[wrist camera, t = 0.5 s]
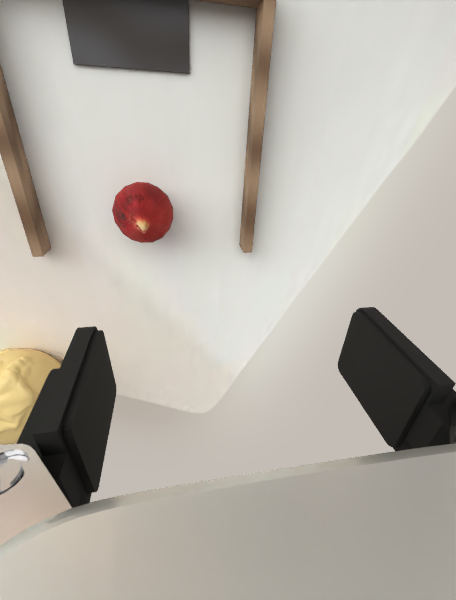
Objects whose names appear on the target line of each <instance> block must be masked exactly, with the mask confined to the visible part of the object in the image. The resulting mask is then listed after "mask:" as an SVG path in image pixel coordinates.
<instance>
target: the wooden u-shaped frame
mask: <svg viewBox="0 0 456 600" xmlns="http://www.w3.org/2000/svg"><path fill="white" fill-rule="evenodd" d="M195 1H204V2H212V3H220V4H229V5H237V6H245V7H254V8H257V10H256V24H255V38H254V51H253V65H252V79H251V93H250V107H249V120H248V134H247V148H246V162H245V176H244V189H243V203H242V217H241V231H240V247H241V249H242V250H243V252H244V253H246V252H252V245H253V234H254V224H255V213H256V203H257V193H258V182H259V172H260V162H261V151H262V141H263V130H264V120H265V110H266V99H267V89H268V79H269V68H270V58H271V47H272V37H273V27H274V16H275V6H276V0H195ZM63 6H64V11H65V17H66V23H67V29H68V34H69V40H70V46H71V52H72V57H73V63H74V64H80V65H92V66H105V67H117V68H130V69H142V70H155V71H167V72H180V73H189V21H188V0H63ZM0 153H1V157H2V160H3V163H4V166H5V169H6V172H7V176H8V179H9V182H10V185H11V188H12V192H13V195H14V198H15V201H16V204H17V207H18V211H19V214H20V217H21V220H22V223H23V227H24V230H25V233H26V236H27V239H28V243H29V246H30V249H31V252H32V255H33V257H39V256H44V255H45V254H46V253H47V251H48V250H49V249H50V248H51V246H50V243H49V239H48V236H47V232H46V228H45V225H44V221H43V217H42V214H41V210H40V207H39V203H38V199H37V196H36V192H35V188H34V185H33V181H32V178H31V174H30V170H29V167H28V163H27V159H26V156H25V152H24V149H23V145H22V141H21V138H20V134H19V130H18V127H17V123H16V119H15V116H14V112H13V109H12V105H11V101H10V98H9V94H8V90H7V87H6V83H5V80H4V76H3V72H2V69H1V65H0Z"/></svg>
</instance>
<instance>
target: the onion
mask: <svg viewBox="0 0 456 600" xmlns="http://www.w3.org/2000/svg"><path fill="white" fill-rule="evenodd" d="M112 211H113V215H114V220H115V223H116V224H117V226H118V227H119V228H120V230H121V231H122V233H123V234H124V235H126V236H127V237H129V238H130V239H131V240H135V241H138V242H154V241H156V240H158V239H160V238H162V237H163V236H164V235H165V234H166V233H167V231H168V230H169V229H170V226H171V223H172V220H173V207H172V205H171V203H170V200H169V198H168V196H167V195H166V194H165V193H164V192H163V191H162V190H161V189H159V188H158V187H156V186H154V185H152V184H150V183H143V182H136V183H133V184H131V185H128V186H125V187H124V188H123V189H122V190H121V191H120V192H119V193H118V194H117V195H116V197H115V201H114V205H113V210H112Z"/></svg>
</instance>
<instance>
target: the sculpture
mask: <svg viewBox="0 0 456 600" xmlns="http://www.w3.org/2000/svg"><path fill="white" fill-rule="evenodd" d="M60 367H61V364H60V363H59V362H58V361H57V360H55V359H54V358H53V357H51V356H50V355H48V354H46V353H43V352H41V351H37V350H33V349H5V350H2V351H0V444H4V445H5V444H16V443H17V441H18V439H19V437H20V435H21V432H22V430H23V428H24V426H25V424H26V422H27V419H28V417H29V415H30V413H31V411H32V409H33V406H34V404H35V402H36V400H37V398H38V396H39V393H40V391H41V389H42V387H43V385H44V383H45V380H46V378H47V376H48V374H49V373H50V371H51V370H52V369H57V368H60Z"/></svg>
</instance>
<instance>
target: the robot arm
mask: <svg viewBox="0 0 456 600" xmlns="http://www.w3.org/2000/svg"><path fill="white" fill-rule="evenodd" d="M338 369H339V371H340V373H341V375H342V376H343V378H344V379H345V381H346V382H347V384H348V385H349V387H350V388H351V390H352V391H353V393H354V394H355V396H356V397H357V399H358V400H359V402H360V403H361V405H362V407H363V408H364V410H365V411H366V412H367V414H368V415H369V417H370V418H371V420H372V422H373V423H374V425H375V426H376V428H377V429H378V431H379V432H380V434H381V435H382V437H383V438H384V440H385V441H386V443H387V444H388V445H389V446H391V447H393V448H394V450H395V452H389V453H382V454H375V455H368V456H361V457H355V458H348V459H342V460H335V461H329V462H322V463H316V464H309V465H302V466H296V467H290V468H283V469H277V470H270V471H264V472H258V473H251V474H245V475H239V476H232V477H226V478H220V479H214V480H208V481H202V482H195V483H189V484H183V485H176V486H171V487H165V488H160V489H154V490H148V491H143V492H137V493H132V494H126V495H121V496H117V497H113V498H108V499H103V500H99V501H95V502H91V503H90V497H91V493H92V492H97V490H98V487H99V482H100V477H101V472H102V466H103V461H104V455H105V451H106V445H107V440H108V435H109V429H110V423H111V419H112V413H113V408H114V403H115V397H116V383H115V379H114V375H113V371H112V366H111V362H110V358H109V354H108V349H107V345H106V341H105V337H104V333H103V331H102V330H100V331H98V330H97V328H96V327H83V328H77V330H76V332H75V334H74V336H73V339H72V341H71V343H70V346H69V348H68V350H67V353H66V355H65V357H64V360H63V362H62V364H61V367H60V368H57V369H52V370H51V371H50V373H49V374H48V376H47V378H46V380H45V383H44V385H43V387H42V389H41V391H40V393H39V396H38V398H37V400H36V402H35V404H34V406H33V409H32V411H31V413H30V415H29V417H28V419H27V422H26V424H25V426H24V428H23V430H22V432H21V435H20V437H19V439H18V441H17V443H16V444H11V445H8V446H5V447H2V448H0V600H456V392H455V391H454V390H453V387H454V385H455V383H454V382H453V381H452V380H451V379H450V378H449V377H448V376H447V375H446V374H445V373H444V372H443V371H442V370H441V369H440V368H439V367H437V365H436V364H434V363H433V362H432V361H431V360H430V359H429V358H428V357H427V356H426V355H425V354H424V353H423V352H422V351H421V350H420V349H419V348H417V347H416V346H415V345H414V344H413V343H412V342H411V341H410V340H409V339H408V338H407V337H406V336H405V335H404V334H403V333H401V331H399V330H398V329H397V328H396V327H395V326H394V325H393V324H392V323H391V322H390V321H389V320H387V318H386V317H385V316H384V315H382V314H381V313H380V312H379V311H378V310H377V309H376V308H374V307H369V308H359V309H357V311H356V312H355V313H353V315H352V318H351V321H350V325H349V328H348V331H347V335H346V338H345V341H344V344H343V348H342V351H341V354H340V358H339V361H338Z"/></svg>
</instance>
